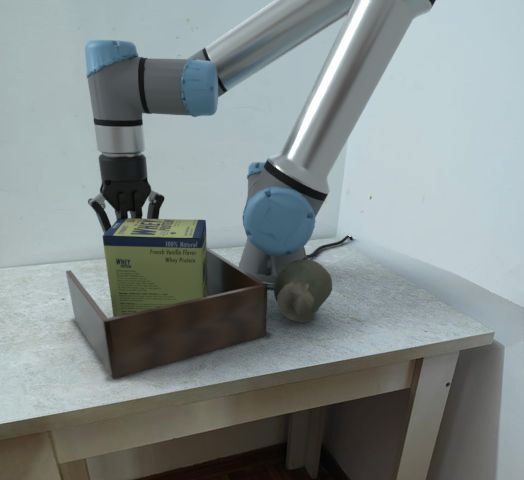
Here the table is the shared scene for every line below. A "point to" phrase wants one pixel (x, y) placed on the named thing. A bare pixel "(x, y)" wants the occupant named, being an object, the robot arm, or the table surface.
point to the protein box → (155, 263)
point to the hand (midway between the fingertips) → (136, 287)
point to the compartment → (175, 321)
